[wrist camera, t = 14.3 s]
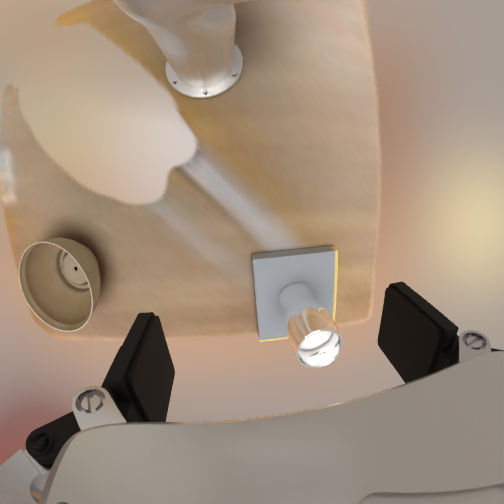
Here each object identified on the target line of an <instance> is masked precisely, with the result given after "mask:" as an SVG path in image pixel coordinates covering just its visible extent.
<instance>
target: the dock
mask: <svg viewBox="0 0 504 504" xmlns="http://www.w3.org/2000/svg"><path fill="white" fill-rule="evenodd" d="M251 256H252V268H253V279H254V291H255V302H256V313H257V325H258V335H259V341H260V342H264V341H271V340H279V339H287V338H288V336H287V330H286V314H285V312H284V311H283V310H282V308H281V307H280V304H279V295H280V293H281V291H282V290H283V289H284V288H285V287H286V286H287V285H289V284H291V283H295V282H301V283H304V284H306V285H308V286H309V287H310V288H311V290H312V292H313V296H314V299H315V301H317V302H318V303H319V304H320V305H321V306H322V307H323V308H324V309H325V310H326V311H327V312H328V313H329V314H330V315H331V317H332V318H333V320H334V322H335V310H336V293H337V268H338V250H337V249H336V248H335V247H334V246H322V247H313V248H303V249H293V250H284V251H274V252H265V253H255V254H251Z"/></svg>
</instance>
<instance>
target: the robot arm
mask: <svg viewBox="0 0 504 504" xmlns="http://www.w3.org/2000/svg"><path fill="white" fill-rule="evenodd" d="M248 1H256V0H114V2H115V3H116V4H117V6H118V7H119V8H120V9H121V10H122V11H123V12H124V13H126V14H127V15H128V16H129V17H131V18H132V19H134V20H135V21H137V22H138V23H140V24H141V25H143V26H144V27H145V28H146V29H147V30H148V32H149V33H150V34H151V36H152V37H153V39H154V40H155V42H156V44H157V45H158V47H159V48H160V50H161V52H162V53H163V55H164V56H165V58H166V65H165V71H166V76H167V79H168V81H169V83H170V84H171V86H172V87H173V88H174V89H175V90H176V91H178V92H179V93H180V94H182V95H184V96H187V97H191V98H196V99H205V98H211V97H215V96H218V95H220V94H223V93H224V92H226V91H227V90H229V89H230V88H231V87H232V86H233V85H234V84H235V83H236V82H237V80H238V79H239V77H240V75H241V72H242V68H243V56H242V53H241V51H240V49H239V47H238V46H237V45H236V44H235V43H234V40H235V24H236V11H235V8H234V5H233V4H235V3H241V2H248ZM233 75H236V77H233ZM175 82H177V84H174V83H175ZM205 93H208V94H207V95H204V94H205ZM457 331H458V327H457V326H456V325H455V324H454V323H452V322H451V321H450V320H449V319H448V318H447V317H445V316H444V315H443V314H442V313H441V312H439V311H438V310H437V309H435V307H433V306H432V305H431V304H430V303H428V302H427V301H426V300H425V299H424V298H422V297H421V296H420V295H419V294H417V293H416V292H415V291H414V290H412V289H411V288H410V287H409V286H407V285H406V284H405V283H404V282H397V283H392V284H390V285H389V287H388V288H387V289H386V291H385V298H384V305H383V311H382V318H381V324H380V329H379V335H378V345H379V347H380V349H381V350H382V351H383V352H384V354H385V355H386V357H387V358H388V360H389V361H390V362H391V364H392V365H393V366H394V368H395V369H396V370H397V372H398V373H399V375H400V376H401V378H402V379H403V380H404V382H405V384H403V385H400V386H397V387H394V388H391V389H387V390H384V391H381V392H378V393H374V394H371V395H368V396H364V397H360V398H357V399H353V400H349V401H345V402H341V403H337V404H332V405H328V406H323V407H319V408H314V409H308V410H303V411H297V412H292V413H285V414H279V415H272V416H264V417H256V418H247V419H237V420H223V421H203V422H166V417H167V411H168V406H169V401H170V395H171V390H172V385H173V380H174V375H175V371H174V366H173V363H172V359H171V356H170V353H169V350H168V347H167V343H166V340H165V336H164V333H163V329H162V326H161V322H160V319H159V316H155V315H154V313H153V312H150V313H139V314H138V316H137V318H136V319H135V321H134V323H133V325H132V327H131V329H130V331H129V333H128V335H127V337H126V339H125V341H124V343H123V345H122V346H121V347H120V349H119V351H118V353H117V355H116V357H115V359H114V361H113V363H112V365H111V367H110V369H109V371H108V373H107V375H106V378H105V380H104V382H103V384H102V386H101V387H98V386H91V387H87V388H84V389H82V390H80V391H79V392H78V393H77V394H76V395H75V396H74V398H73V400H72V410H73V411H72V412H70V413H68V414H66V415H64V416H62V417H60V418H58V419H56V420H54V421H52V422H50V423H48V424H46V425H44V426H42V427H40V428H37V429H36V430H34V431H32V432H31V434H30V435H29V436H28V438H27V440H26V450H25V451H23V450H22V449H20V450H19V451H18V452H16V453H15V454H14V455H13V456H12V457H11V458H9V459H8V460H7V461H6V462H5V463H3V464H2V465H1V466H0V504H504V351H503V350H498V349H493V348H491V346H490V342H489V339H488V338H487V337H486V336H485V335H484V334H482V333H480V332H478V331H474V330H467V331H464V332H462V333H461V334H460V336H459V337H458V335H457Z"/></svg>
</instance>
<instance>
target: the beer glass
mask: <svg viewBox="0 0 504 504" xmlns="http://www.w3.org/2000/svg"><path fill="white" fill-rule="evenodd" d="M279 304H280V307H281V308H282V310H283V311H284V312H285V314H286V330H287V336H288V339H289V342H290V344H291V347H292V349H293V352H294V354H295V356H296V358H297V360H298V362H299V363H300V364H301V365H303V366H305V367H308V368H320V367H324V366H326V365H328V364H330V363H332V362H333V361H334V360H335V359H337V357H338V356H339V355H340V354H341V352H342V349H343V346H344V341H343V338H342V336H341V334H340V332H339V329H338V327H337V325H336V323H335V322H334V320H333V318H332V317H331V315H330V314H329V313H328V312H327V311H326V310H325V309H324V308H323V307H322V306H321V305H320V304H319V303H318V302H317V301H315V299H314V296H313V292H312V290H311V288H310V287H309V286H308V285H306V284H304V283H301V282H295V283H291V284H289V285H287V286H286V287H285V288H284V289H283V290H282V291H281V293H280V295H279Z"/></svg>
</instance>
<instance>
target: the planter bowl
mask: <svg viewBox="0 0 504 504" xmlns="http://www.w3.org/2000/svg"><path fill="white" fill-rule="evenodd" d="M74 267H77V271H76V270H75V268H74ZM18 274H19V282H20V287H21V290H22V293H23V296H24V298H25V300H26V302H27V304H28V305H29V307H30V308H31V310H32V311H33V312H34V314H35V315H36V316H37V317H38V318H39V319H41V320H42V321H43V322H44V323H45V324H47V325H48V326H50V327H52V328H54V329H56V330H59V331H63V332H73V331H77V330H79V329H81V328H83V327H84V326H85V325H86V324H87V323H88V321H89V320H90V318H91V316H92V313H93V311H94V309H95V307H96V305H97V302H98V299H99V295H100V286H101V282H100V273H99V265H98V261H97V259H96V257H95V255H94V254H93V252H92V251H91V250H90V249H89V248H87V247H86V246H84V245H82V244H80V243H78V242H76V241H74V240H71V239H67V238H49V239H46V240H43V241H38V242H36V243H33V244H32V245H30V246H29V247H28V248H27V249H26V250H25V251H24V253H23V255H22V257H21V259H20V263H19V271H18Z"/></svg>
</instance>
